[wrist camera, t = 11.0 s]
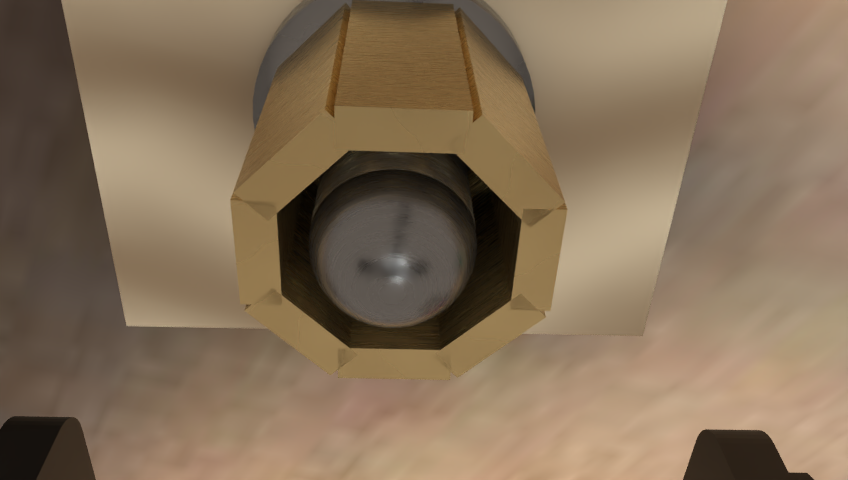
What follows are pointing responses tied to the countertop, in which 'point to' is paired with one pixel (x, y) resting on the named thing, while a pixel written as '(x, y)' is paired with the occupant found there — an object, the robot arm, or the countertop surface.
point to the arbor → (390, 200)
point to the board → (233, 130)
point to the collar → (399, 132)
